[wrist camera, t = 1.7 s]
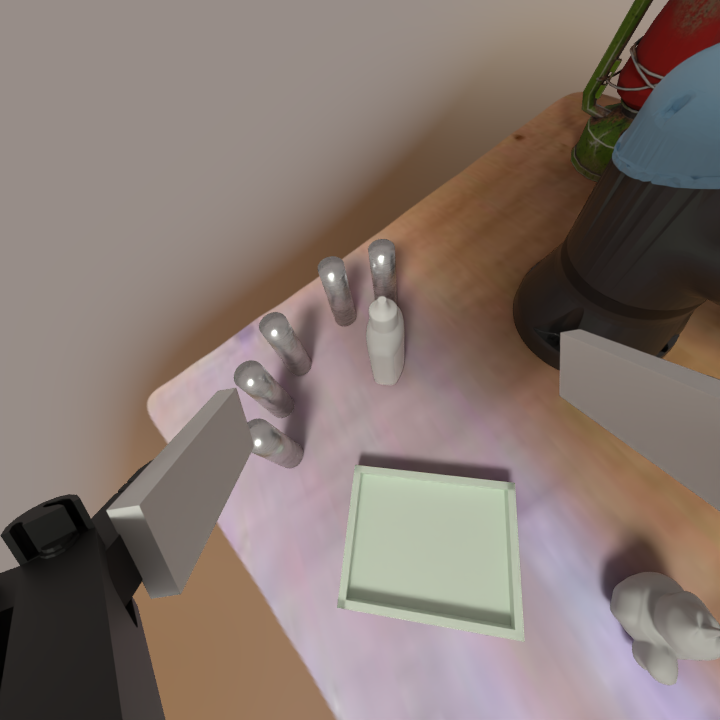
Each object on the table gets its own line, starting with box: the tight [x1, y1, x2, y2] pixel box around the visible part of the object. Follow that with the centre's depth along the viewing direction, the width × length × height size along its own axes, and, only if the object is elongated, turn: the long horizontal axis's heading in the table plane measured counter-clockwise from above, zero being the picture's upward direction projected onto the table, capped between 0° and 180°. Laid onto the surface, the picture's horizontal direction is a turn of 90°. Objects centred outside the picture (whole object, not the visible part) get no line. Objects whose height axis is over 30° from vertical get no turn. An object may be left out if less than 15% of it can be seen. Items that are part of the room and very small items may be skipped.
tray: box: [337, 465, 524, 642], centre depth 29 cm, size 14×11×2 cm
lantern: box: [571, 0, 720, 182], centre depth 33 cm, size 14×11×30 cm
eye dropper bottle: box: [366, 296, 404, 385], centre depth 32 cm, size 4×6×12 cm
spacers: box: [234, 239, 397, 468], centre depth 35 cm, size 7×23×9 cm, turn 150°
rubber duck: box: [610, 572, 720, 685], centre depth 23 cm, size 5×7×8 cm
